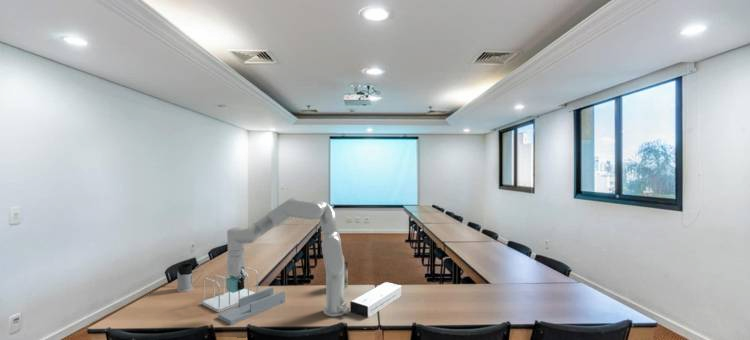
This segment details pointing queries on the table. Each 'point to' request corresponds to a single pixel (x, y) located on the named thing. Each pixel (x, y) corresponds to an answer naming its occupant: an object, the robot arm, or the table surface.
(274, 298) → the sleeve
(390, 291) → the laminator
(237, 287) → the teal block
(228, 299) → the file sorter
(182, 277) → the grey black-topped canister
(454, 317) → the table surface
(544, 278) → the table surface
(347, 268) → the coffee box
